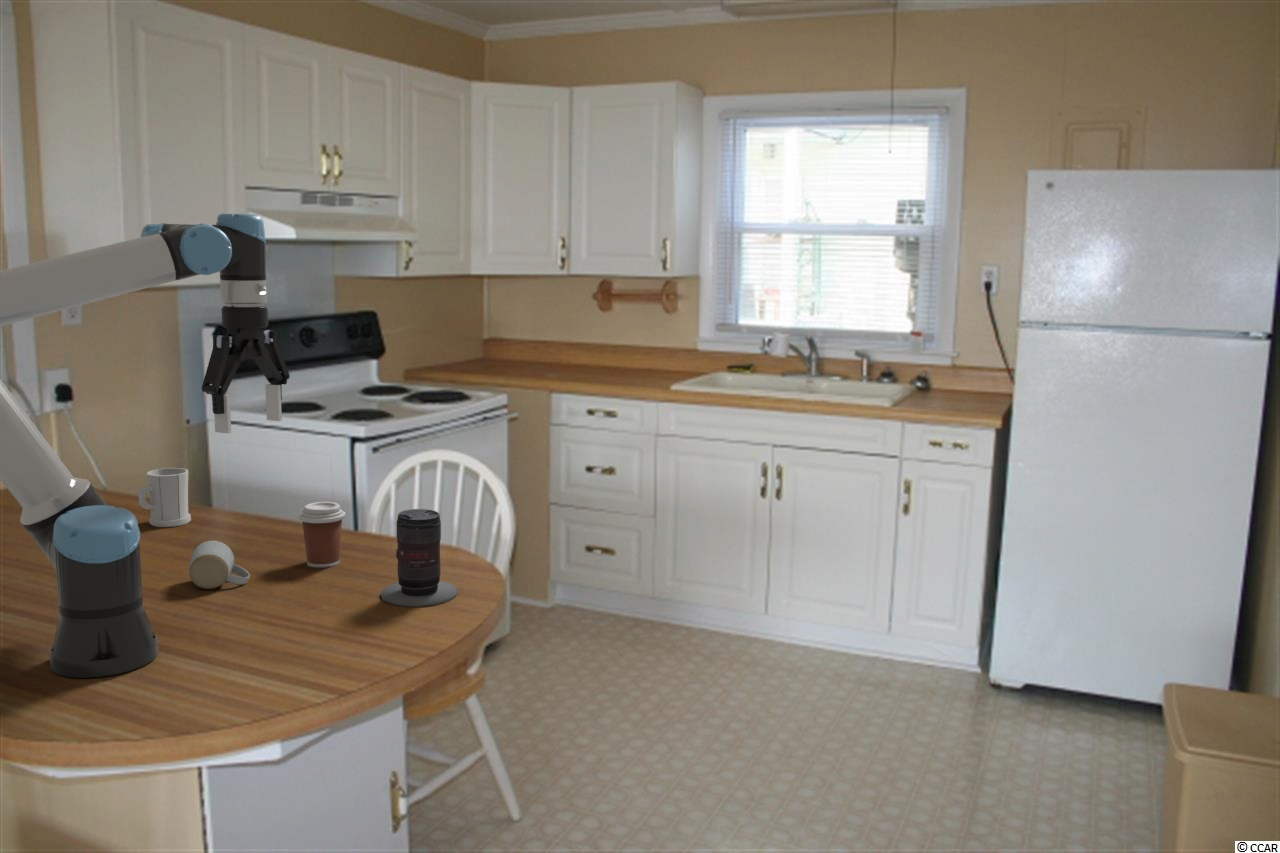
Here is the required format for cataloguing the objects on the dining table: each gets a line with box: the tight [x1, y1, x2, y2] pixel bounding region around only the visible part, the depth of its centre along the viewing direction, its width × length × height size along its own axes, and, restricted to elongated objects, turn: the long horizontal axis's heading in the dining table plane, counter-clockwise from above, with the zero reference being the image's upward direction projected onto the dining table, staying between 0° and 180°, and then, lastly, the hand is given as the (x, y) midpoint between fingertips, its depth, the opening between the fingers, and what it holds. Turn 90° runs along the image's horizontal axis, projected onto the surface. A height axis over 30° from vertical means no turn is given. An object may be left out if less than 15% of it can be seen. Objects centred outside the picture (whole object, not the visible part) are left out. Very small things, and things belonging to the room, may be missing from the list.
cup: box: [137, 467, 192, 528], centre depth 248 cm, size 10×9×12 cm
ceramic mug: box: [188, 540, 251, 590], centre depth 207 cm, size 11×8×8 cm
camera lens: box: [395, 508, 442, 596], centre depth 202 cm, size 8×8×15 cm
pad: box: [380, 580, 458, 608], centre depth 204 cm, size 14×14×1 cm
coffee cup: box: [298, 501, 346, 568], centre depth 221 cm, size 9×9×12 cm
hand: (249, 426), depth 191 cm, fingers open, 13 cm apart
